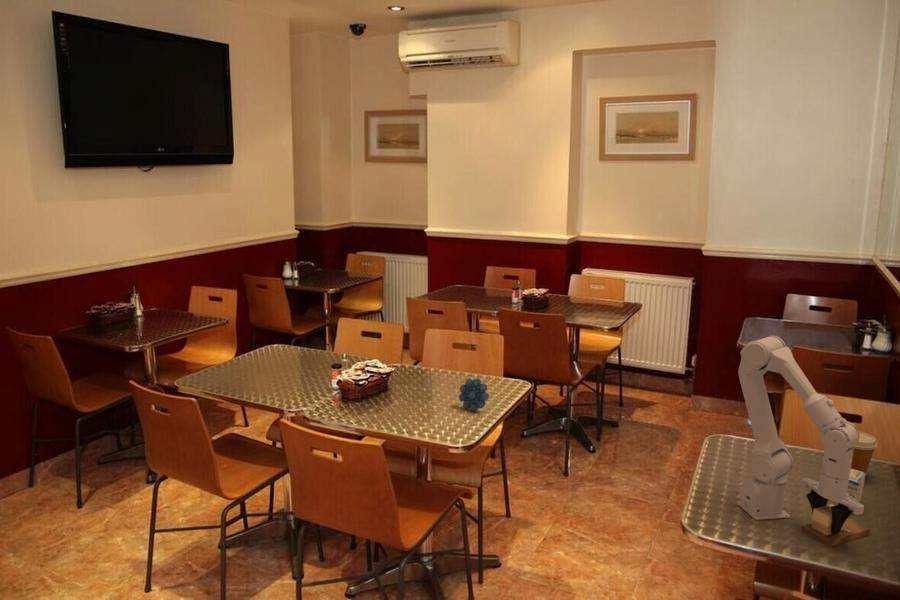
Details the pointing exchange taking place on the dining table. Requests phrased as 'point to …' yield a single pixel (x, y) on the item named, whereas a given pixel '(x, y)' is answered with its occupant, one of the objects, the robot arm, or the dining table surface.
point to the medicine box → (855, 484)
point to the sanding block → (823, 520)
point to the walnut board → (850, 533)
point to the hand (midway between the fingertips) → (826, 527)
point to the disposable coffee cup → (863, 452)
